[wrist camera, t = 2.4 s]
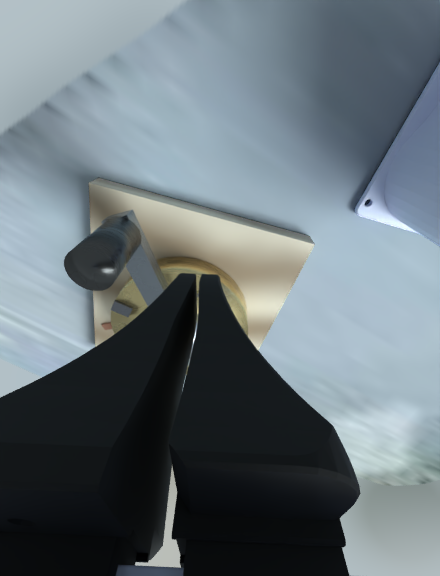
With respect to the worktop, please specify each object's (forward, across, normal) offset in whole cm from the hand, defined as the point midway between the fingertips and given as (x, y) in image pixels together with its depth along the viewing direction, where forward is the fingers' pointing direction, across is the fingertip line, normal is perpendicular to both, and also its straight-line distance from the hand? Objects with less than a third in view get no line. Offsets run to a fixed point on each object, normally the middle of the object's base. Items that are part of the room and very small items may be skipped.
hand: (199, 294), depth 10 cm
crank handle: (+9, +3, +6) cm, 11 cm away
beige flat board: (+10, +2, +8) cm, 14 cm away
